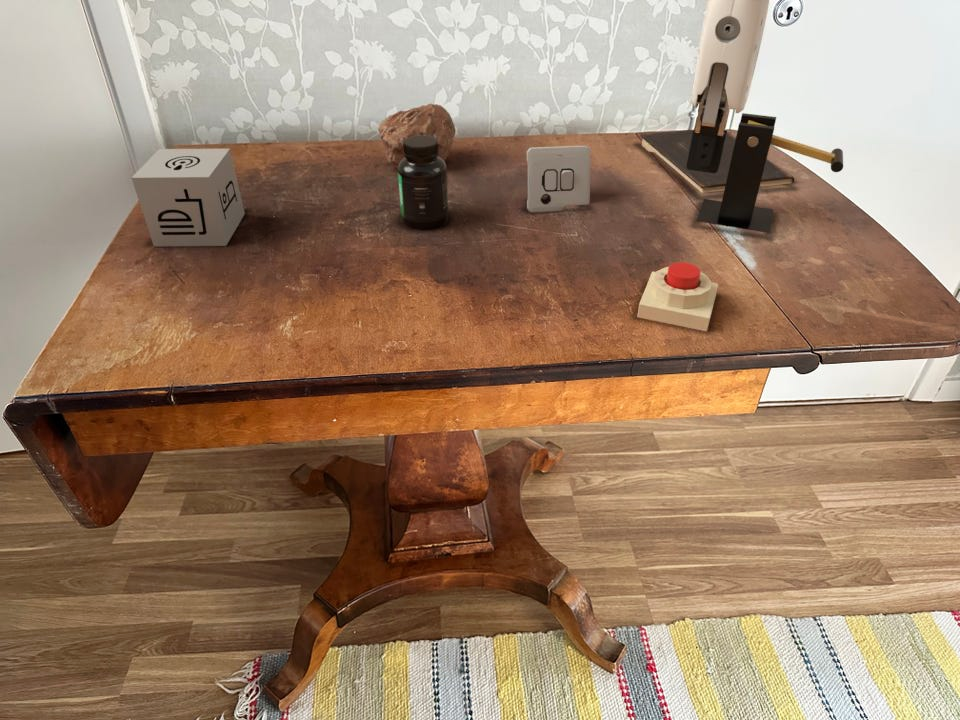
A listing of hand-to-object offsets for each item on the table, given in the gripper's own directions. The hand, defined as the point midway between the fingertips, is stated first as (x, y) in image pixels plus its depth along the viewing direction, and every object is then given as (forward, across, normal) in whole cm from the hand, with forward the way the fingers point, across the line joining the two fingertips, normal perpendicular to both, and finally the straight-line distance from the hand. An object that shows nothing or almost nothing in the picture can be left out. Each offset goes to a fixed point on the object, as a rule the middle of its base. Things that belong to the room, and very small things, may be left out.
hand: (702, 168), depth 73 cm
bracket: (+18, +26, -4) cm, 32 cm away
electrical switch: (+18, +22, +22) cm, 36 cm away
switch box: (+18, 0, 0) cm, 18 cm away
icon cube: (+18, -4, +67) cm, 69 cm away
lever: (+7, +26, -9) cm, 28 cm away
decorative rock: (+18, +29, +48) cm, 59 cm away
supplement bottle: (+18, +10, +38) cm, 43 cm away
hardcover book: (+18, +46, +1) cm, 49 cm away
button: (+14, 0, 0) cm, 14 cm away
